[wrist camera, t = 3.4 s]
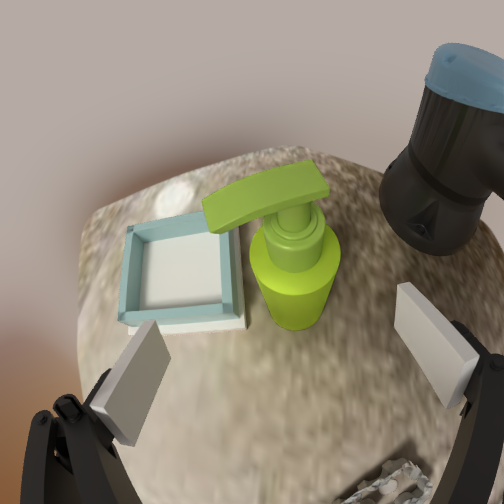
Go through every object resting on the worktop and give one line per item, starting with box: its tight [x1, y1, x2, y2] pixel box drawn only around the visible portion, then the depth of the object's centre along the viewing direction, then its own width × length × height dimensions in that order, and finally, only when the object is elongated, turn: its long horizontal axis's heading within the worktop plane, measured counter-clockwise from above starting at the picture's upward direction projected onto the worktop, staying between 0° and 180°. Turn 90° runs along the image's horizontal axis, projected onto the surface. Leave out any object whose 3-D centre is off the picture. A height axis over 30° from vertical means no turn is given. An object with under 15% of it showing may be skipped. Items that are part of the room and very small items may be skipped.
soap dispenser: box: [202, 159, 341, 331], centre depth 20 cm, size 6×7×20 cm
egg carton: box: [332, 457, 433, 504], centre depth 16 cm, size 11×8×4 cm
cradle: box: [118, 211, 247, 337], centre depth 31 cm, size 14×14×4 cm
